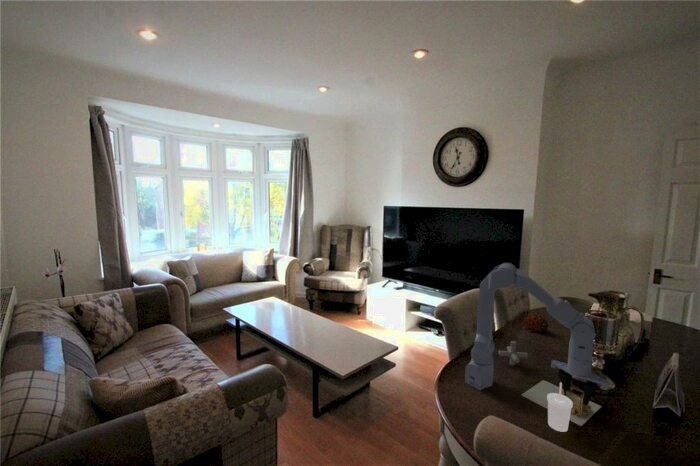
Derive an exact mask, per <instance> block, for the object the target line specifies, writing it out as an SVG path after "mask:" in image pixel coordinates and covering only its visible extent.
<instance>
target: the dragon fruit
mask: <svg viewBox="0 0 700 466" xmlns="http://www.w3.org/2000/svg"><path fill="white" fill-rule="evenodd" d="M521 322H523V326H525V327H526V328H529V329H530V330H531V331H532V332H538V333H541V332H546V331H548V328H549V323H548V321H547V319H545V318H544V317H543V316H541V315H538V314H531V315H529V316H528V317H527V316H526V317H523V318H522V320H521Z"/></svg>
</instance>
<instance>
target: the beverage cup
mask: <svg viewBox="0 0 700 466" xmlns="http://www.w3.org/2000/svg"><path fill="white" fill-rule="evenodd" d="M559 387H560V389H559V394H558V393H549V394H548V395H547V400H548V409H547V423H548V426H549V427H550V428H551V429H553V430H554V431H557V432H561V433H562V432H563V433H565V432H568V430H569V424H570V420H569V419H570V413H571V408H572V407H573V402H572V401H571V400H570V399H569V398H568V397H566V396H564V395H562V394H561V389H563V386H562V383H561V381H560V382H559Z"/></svg>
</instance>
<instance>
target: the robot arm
mask: <svg viewBox="0 0 700 466" xmlns="http://www.w3.org/2000/svg"><path fill="white" fill-rule="evenodd" d="M512 285H513V286H512ZM510 286H512V288H514V289H523V290H524V291H526V292H527V293H529V294H530V295H531V296H533V297H534V298H535V299H537V301H539V302H540V303H541V304H543V305H545V306H546V312H547V313H548V314H549V315H550V316H552V317H553V318H554V319H556V321H557V322H559V323H560V324H561V325H562V326H564V327H565V328H567V329H569V331H570V339H569V342H568V343H569V345H568V352H567V353H568V354H567V355H568V356H567V363H566V362H562V361H558V360H556V359H552V360H551V362H550V368H552V369H557V370H559V371H558V372H557V374H556V375H557V377H558V378H559V381H560V382H561V383H562V389H563V390H564V395H565V396H566V390H568V389H569V388H570V387H572V385H571V384H572V379H573V378H572V377H575V378H577V379H580V380H584V381H585V382H584V383H583V391H584V400H583V404H584V405H587V404H588V403H589V401H590V400H591V399H592V396H593V394H594V392H595V391H596V389H598V387H601V388H602V389H604V390H606V391H607V390H608V389H610V381H609V380H607V379H605V378H603V377H601V376H599V375H597V374H596V373H593V371H592V365H593V364H592V362H593V352H594V351H593V350H594V345H593V343H594V339H595V338H596V337H597V334H596V329H595V326H594V322H593V321H592V320H591V319H590V317H589V318H588V317H587V316H584V314H582V313H579V312H577V311H576V310H575V309H574V308H572V307H571V306H570V303H569V302H568V301H567V300H565V301H563V300H562V299H560V298H558V297H554V296H552V295H551V294H549V293H548V292H547V291H546V290H545V289H544V288H542V287H541V286H540V285H539V284H538V283H537V282H535V280H534V279H532V278H531V277H530V276H529V275H528V274H526V273H525V272H524V271H523V270H522V269H520V268H517V267H516V265H514V264H512V263H510V262H503V263H501V264H499V265H496V266H495V267H494V268H493V269H492V270H491V271H490V272H489V273H488V274H487V275H486V277H485V278H483V280H482V281H481V282H480V284H479V290H478V291H479V292H478V304H477V305H478V306H477V307H478V309H477V322H476V323H477V324H476V335H475V339H474V343H473V344H474V345H473V347H472V348H471V350H470V357H471V360H470V361H469V363H468V364H466V365H465V370H464V371H465V372H464V383H466V384H468V385H469V386H471V387H472V388H475V389H476V390H478V391H482V390H483V389H486V388H489V387H492V386H493V385H494V363H495V360H494V358H493V353H494V351H495V349H496V346H495V345H496V344H495V343H494V341H493V338H494V337H493V323H494V321H493V320H494V308H495V307H494V306H495V292H497V291H498V290H499V289H503V288H507V287H510Z"/></svg>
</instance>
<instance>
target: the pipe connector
mask: <svg viewBox="0 0 700 466" xmlns="http://www.w3.org/2000/svg"><path fill="white" fill-rule="evenodd" d="M528 355H529V354H528V352H522V351H521V352H520V351H517V341H515V340H511V341H510V345H508V346H506V350H498V356H501V357H502V356H503V357H509V365H510V366H515V365H516V364H519V363H520V358H525V359H528Z"/></svg>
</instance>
